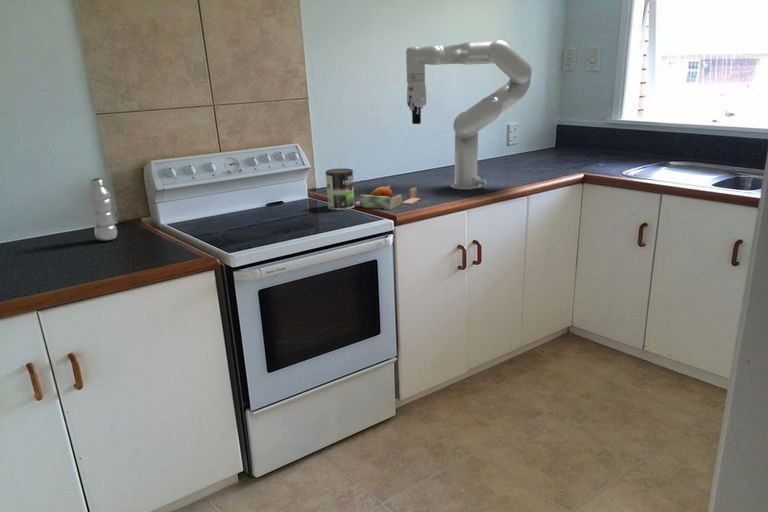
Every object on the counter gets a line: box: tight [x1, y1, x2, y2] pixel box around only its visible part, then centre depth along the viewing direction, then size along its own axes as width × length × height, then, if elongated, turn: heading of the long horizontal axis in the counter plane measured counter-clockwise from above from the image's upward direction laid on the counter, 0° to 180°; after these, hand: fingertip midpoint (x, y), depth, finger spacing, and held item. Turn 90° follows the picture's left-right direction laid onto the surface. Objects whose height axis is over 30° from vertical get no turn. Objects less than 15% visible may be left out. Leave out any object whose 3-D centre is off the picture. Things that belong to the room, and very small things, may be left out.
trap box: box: [358, 185, 418, 210], centre depth 231 cm, size 13×24×4 cm, turn 152°
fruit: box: [370, 186, 393, 198], centre depth 225 cm, size 8×8×8 cm
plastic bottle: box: [87, 177, 118, 242], centre depth 189 cm, size 6×7×20 cm
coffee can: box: [325, 168, 355, 211], centre depth 223 cm, size 10×10×14 cm
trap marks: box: [354, 197, 422, 205], centre depth 231 cm, size 21×16×1 cm
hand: (416, 123), depth 248 cm, fingers closed
